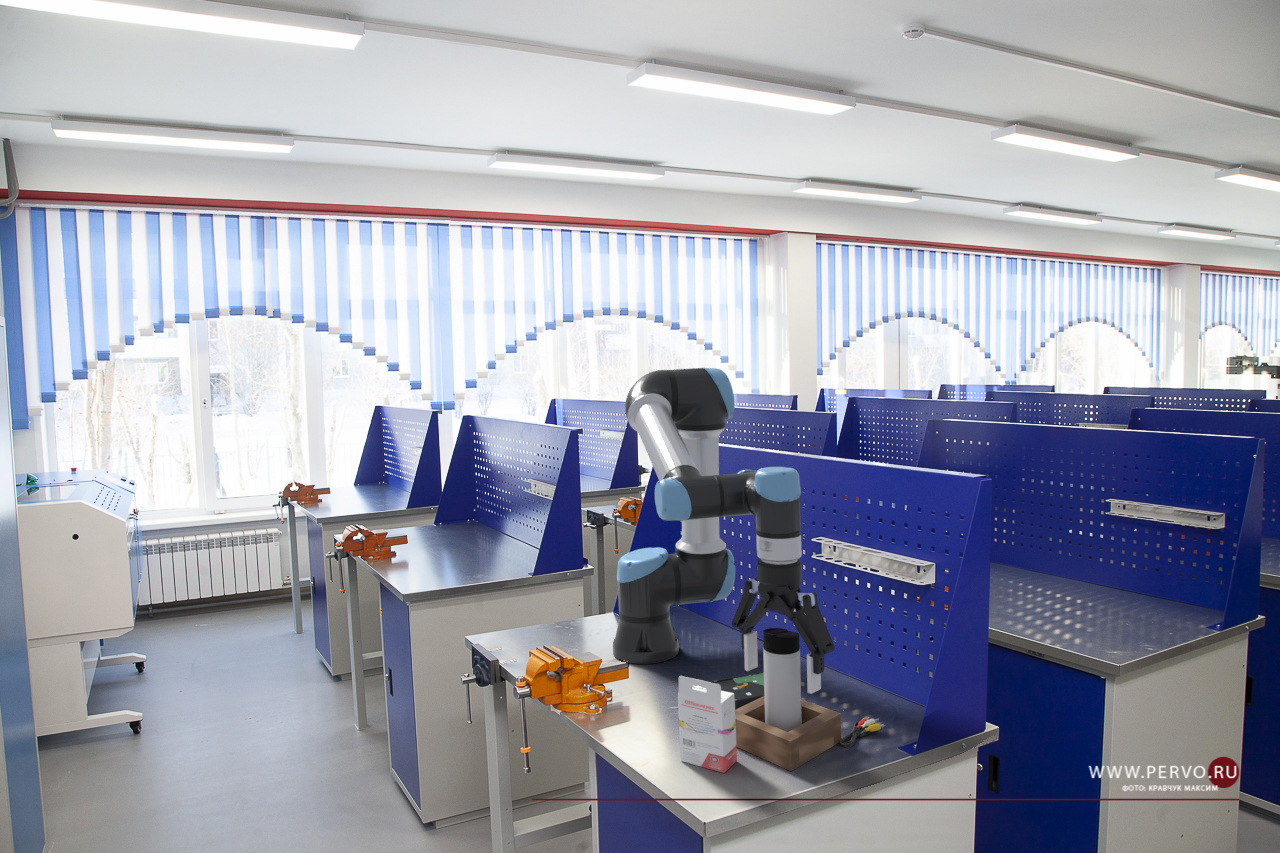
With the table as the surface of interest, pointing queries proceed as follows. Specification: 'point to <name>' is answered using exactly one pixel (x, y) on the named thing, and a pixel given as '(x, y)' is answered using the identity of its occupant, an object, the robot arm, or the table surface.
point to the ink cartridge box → (706, 724)
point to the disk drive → (743, 688)
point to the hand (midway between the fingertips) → (781, 679)
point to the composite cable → (861, 730)
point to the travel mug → (782, 678)
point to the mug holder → (787, 734)
